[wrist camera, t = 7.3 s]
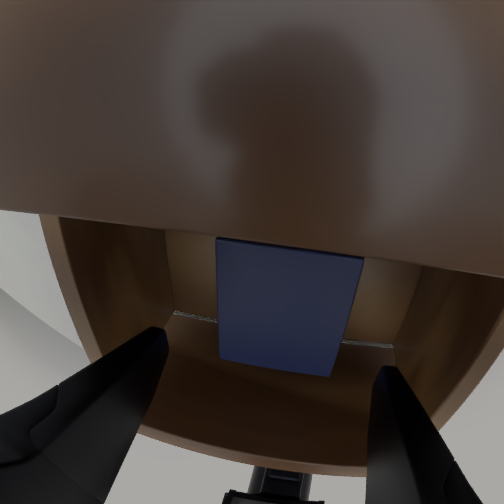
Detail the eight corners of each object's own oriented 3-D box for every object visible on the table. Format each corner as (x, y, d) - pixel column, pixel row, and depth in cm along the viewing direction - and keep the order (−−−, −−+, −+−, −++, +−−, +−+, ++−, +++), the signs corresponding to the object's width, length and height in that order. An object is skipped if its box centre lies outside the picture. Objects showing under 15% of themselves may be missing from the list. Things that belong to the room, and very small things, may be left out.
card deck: (332, 336, 14) (329, 377, 12) (234, 320, 14) (219, 359, 12) (358, 224, 11) (365, 259, 9) (234, 208, 12) (214, 238, 10)
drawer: (374, 409, 18) (373, 504, 12) (174, 375, 20) (133, 459, 14) (483, 102, 8) (609, 142, 3) (137, 66, 10) (-2, 81, 5)
